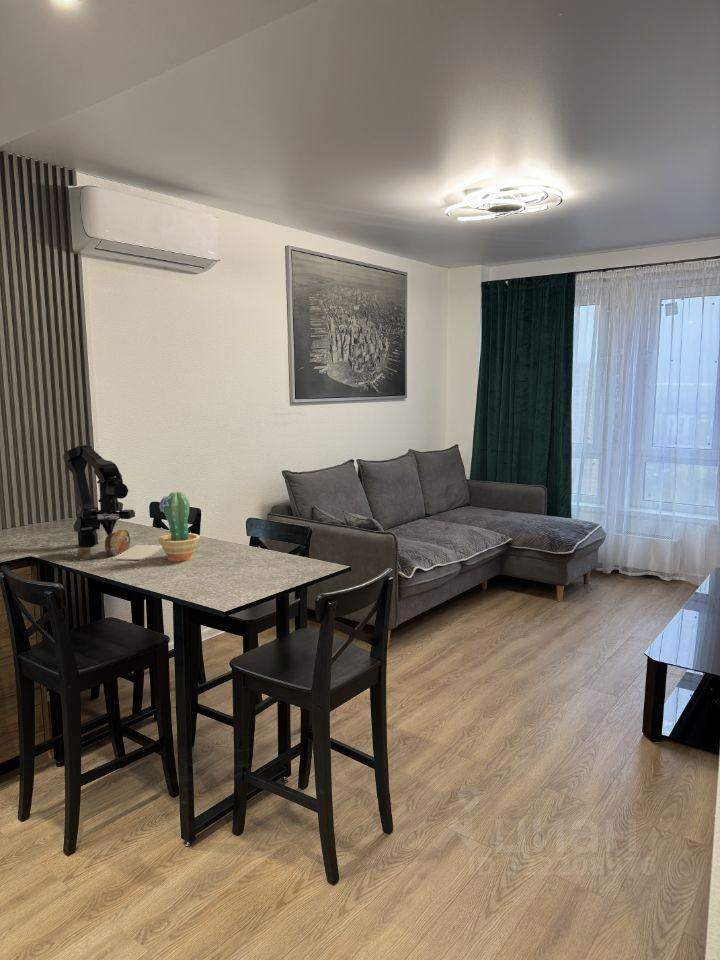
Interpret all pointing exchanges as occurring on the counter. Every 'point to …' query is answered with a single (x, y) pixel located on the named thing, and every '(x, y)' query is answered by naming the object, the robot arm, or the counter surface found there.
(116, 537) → the tin
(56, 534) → the counter surface
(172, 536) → the potted cactus
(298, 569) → the counter surface
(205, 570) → the counter surface
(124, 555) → the mat
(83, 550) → the walnut block
